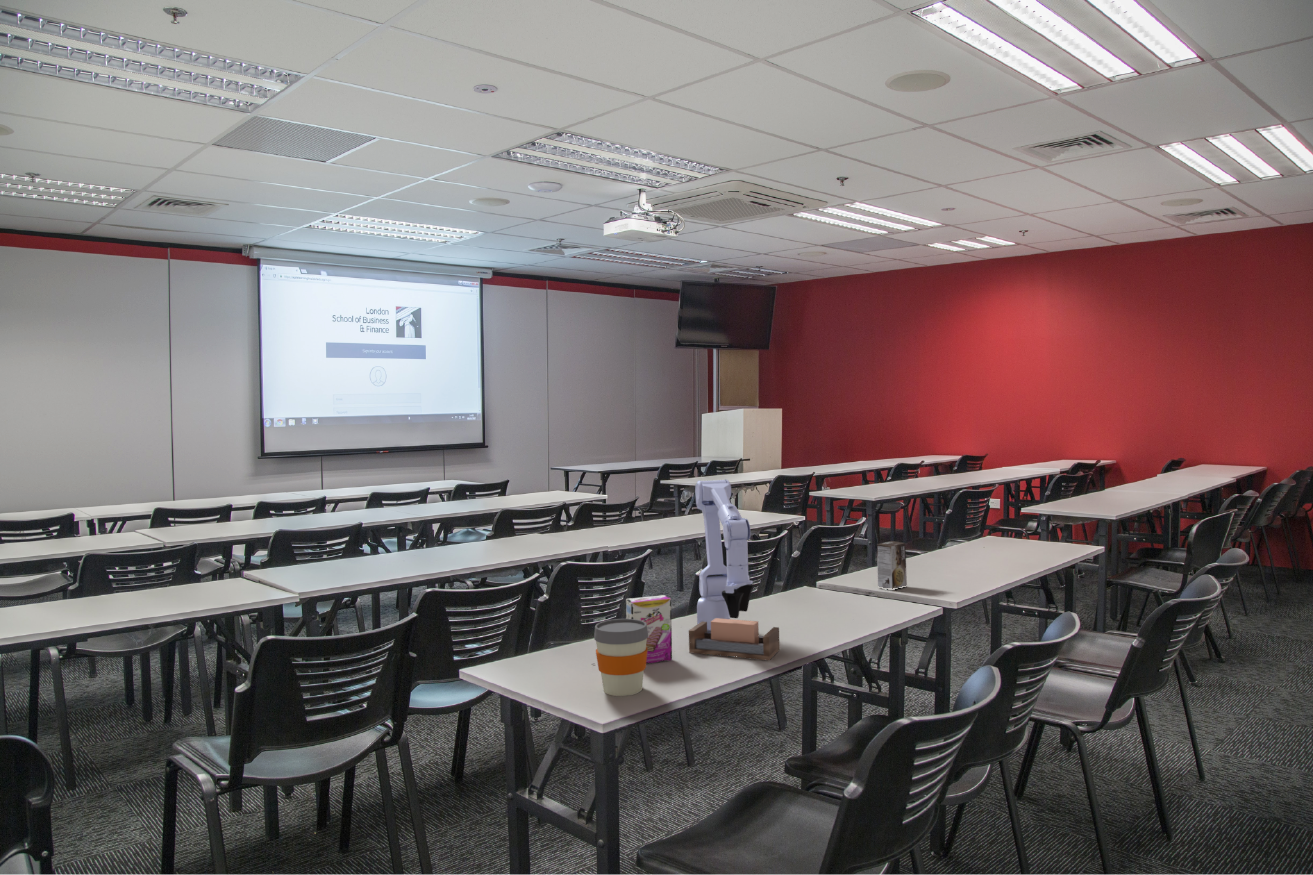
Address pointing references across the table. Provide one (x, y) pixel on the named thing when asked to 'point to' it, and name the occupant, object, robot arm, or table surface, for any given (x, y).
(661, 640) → the candy bar box
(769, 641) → the track base
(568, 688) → the table surface
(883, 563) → the coffee box
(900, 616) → the table surface
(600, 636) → the reusable coffee cup
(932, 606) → the table surface
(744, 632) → the salmon orange block
